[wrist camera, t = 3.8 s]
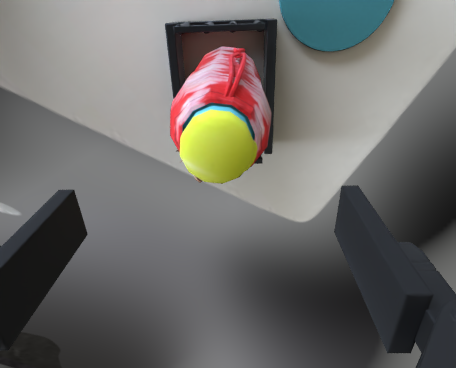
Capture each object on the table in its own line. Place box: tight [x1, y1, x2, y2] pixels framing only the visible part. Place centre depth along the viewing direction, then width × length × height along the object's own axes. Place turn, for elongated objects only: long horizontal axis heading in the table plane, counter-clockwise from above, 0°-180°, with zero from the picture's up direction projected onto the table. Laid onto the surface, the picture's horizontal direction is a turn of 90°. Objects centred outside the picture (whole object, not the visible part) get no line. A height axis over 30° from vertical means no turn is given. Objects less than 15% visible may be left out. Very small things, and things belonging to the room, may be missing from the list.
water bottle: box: [170, 46, 271, 184], centre depth 30 cm, size 12×8×25 cm, turn 159°
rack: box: [165, 19, 277, 164], centre depth 37 cm, size 12×15×7 cm
